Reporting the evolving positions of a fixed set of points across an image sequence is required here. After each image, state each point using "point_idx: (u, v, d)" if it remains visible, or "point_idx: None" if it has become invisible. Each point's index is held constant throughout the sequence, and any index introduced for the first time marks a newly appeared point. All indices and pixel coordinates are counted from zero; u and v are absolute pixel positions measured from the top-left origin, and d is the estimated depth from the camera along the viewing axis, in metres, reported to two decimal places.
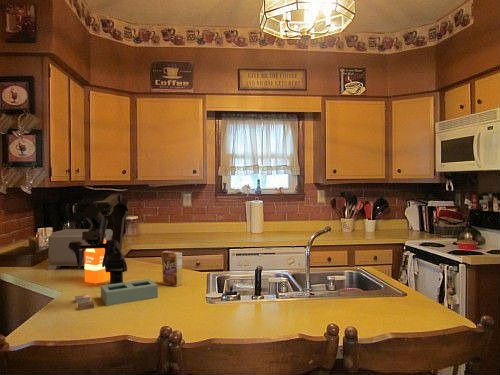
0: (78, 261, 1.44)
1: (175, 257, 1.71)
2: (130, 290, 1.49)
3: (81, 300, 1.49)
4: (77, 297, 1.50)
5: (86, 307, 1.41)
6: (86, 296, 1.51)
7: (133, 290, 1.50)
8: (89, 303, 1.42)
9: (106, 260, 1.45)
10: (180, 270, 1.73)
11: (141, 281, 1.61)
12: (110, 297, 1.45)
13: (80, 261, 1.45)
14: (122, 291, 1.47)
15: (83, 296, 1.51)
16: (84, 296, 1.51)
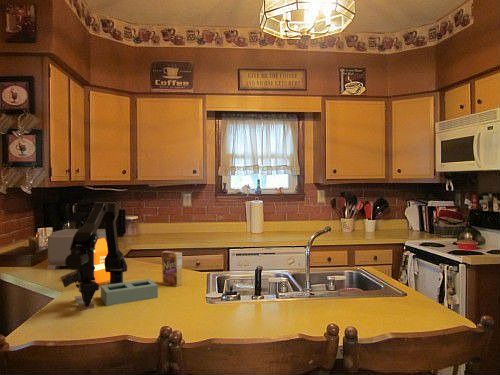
0: (82, 297, 1.44)
1: (175, 257, 1.71)
2: (130, 290, 1.49)
3: (81, 300, 1.49)
4: (77, 297, 1.50)
5: (86, 307, 1.41)
6: None
7: (133, 290, 1.50)
8: None
9: (87, 300, 1.40)
10: (180, 270, 1.73)
11: (141, 281, 1.61)
12: (110, 297, 1.45)
13: None
14: (122, 291, 1.47)
15: None
16: None
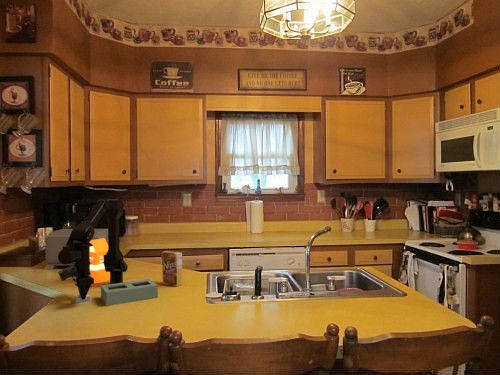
0: (79, 291, 1.52)
1: (175, 257, 1.71)
2: (130, 290, 1.49)
3: (81, 299, 1.49)
4: (77, 296, 1.50)
5: None
6: (86, 295, 1.51)
7: (133, 290, 1.50)
8: None
9: (83, 293, 1.48)
10: (180, 270, 1.73)
11: (141, 281, 1.61)
12: (110, 297, 1.45)
13: None
14: (122, 291, 1.47)
15: None
16: None
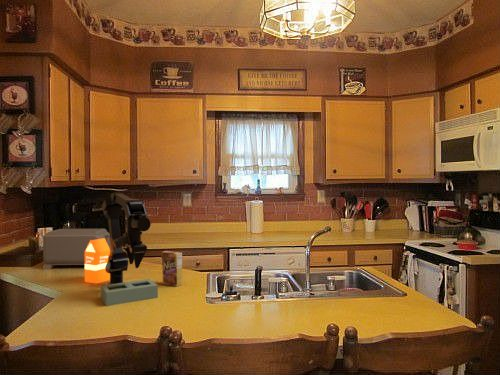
0: (129, 259, 1.63)
1: (175, 257, 1.71)
2: (130, 290, 1.49)
3: None
4: None
5: None
6: None
7: (133, 290, 1.50)
8: None
9: (137, 262, 1.55)
10: (180, 270, 1.73)
11: (141, 281, 1.61)
12: (110, 297, 1.45)
13: (131, 258, 1.63)
14: (122, 291, 1.47)
15: None
16: None
